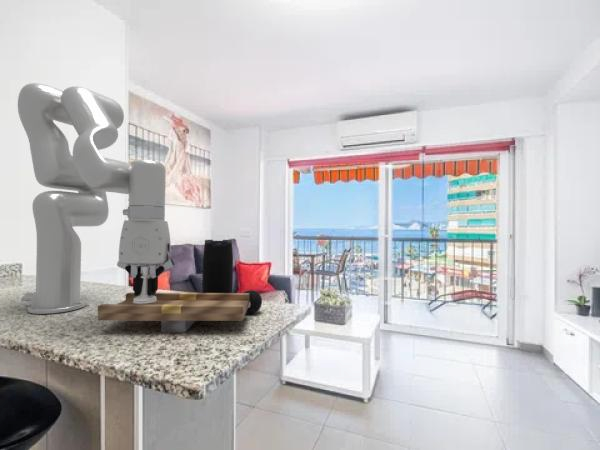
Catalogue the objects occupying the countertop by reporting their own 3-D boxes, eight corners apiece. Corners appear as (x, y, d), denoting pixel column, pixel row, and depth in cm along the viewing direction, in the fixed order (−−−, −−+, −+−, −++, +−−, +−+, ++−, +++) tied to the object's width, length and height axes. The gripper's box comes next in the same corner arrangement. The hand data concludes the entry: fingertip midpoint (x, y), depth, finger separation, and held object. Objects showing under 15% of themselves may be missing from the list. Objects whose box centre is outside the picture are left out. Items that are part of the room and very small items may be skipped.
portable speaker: (231, 302, 93) (232, 239, 93) (232, 310, 85) (234, 241, 85) (202, 303, 91) (203, 239, 91) (200, 312, 82) (202, 240, 82)
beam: (97, 334, 64) (97, 306, 64) (128, 316, 77) (128, 292, 77) (242, 334, 66) (242, 306, 66) (248, 316, 79) (249, 293, 79)
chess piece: (161, 299, 73) (161, 257, 73) (148, 304, 68) (149, 259, 68) (141, 298, 74) (142, 256, 74) (128, 303, 69) (128, 258, 69)
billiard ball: (264, 310, 85) (264, 289, 85) (257, 317, 79) (257, 293, 79) (243, 309, 86) (244, 287, 86) (235, 315, 80) (235, 292, 80)
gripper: (101, 213, 67) (99, 298, 67) (176, 214, 68) (175, 298, 68) (119, 214, 74) (118, 290, 74) (187, 216, 75) (185, 291, 75)
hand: (145, 293), depth 71 cm, fingers closed on chess piece
